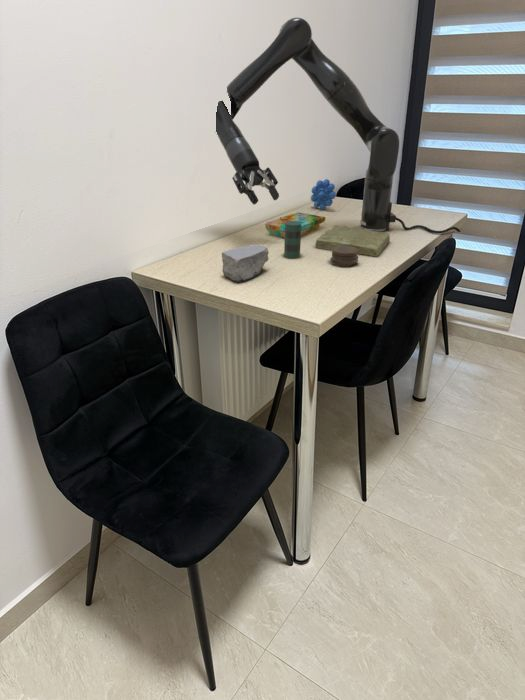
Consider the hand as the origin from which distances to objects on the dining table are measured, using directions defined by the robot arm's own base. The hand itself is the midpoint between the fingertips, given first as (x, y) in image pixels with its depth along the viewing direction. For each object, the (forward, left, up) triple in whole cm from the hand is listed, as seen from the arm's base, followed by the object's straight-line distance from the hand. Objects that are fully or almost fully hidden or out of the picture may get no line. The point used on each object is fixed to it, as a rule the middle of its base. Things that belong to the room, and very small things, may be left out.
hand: (266, 200), depth 157 cm
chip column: (-7, +9, -15) cm, 19 cm away
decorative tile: (-29, 0, -15) cm, 32 cm away
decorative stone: (+9, +23, -15) cm, 29 cm away
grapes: (-30, -47, -15) cm, 57 cm away
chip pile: (-21, +17, -15) cm, 31 cm away
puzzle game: (-13, -17, -15) cm, 26 cm away
